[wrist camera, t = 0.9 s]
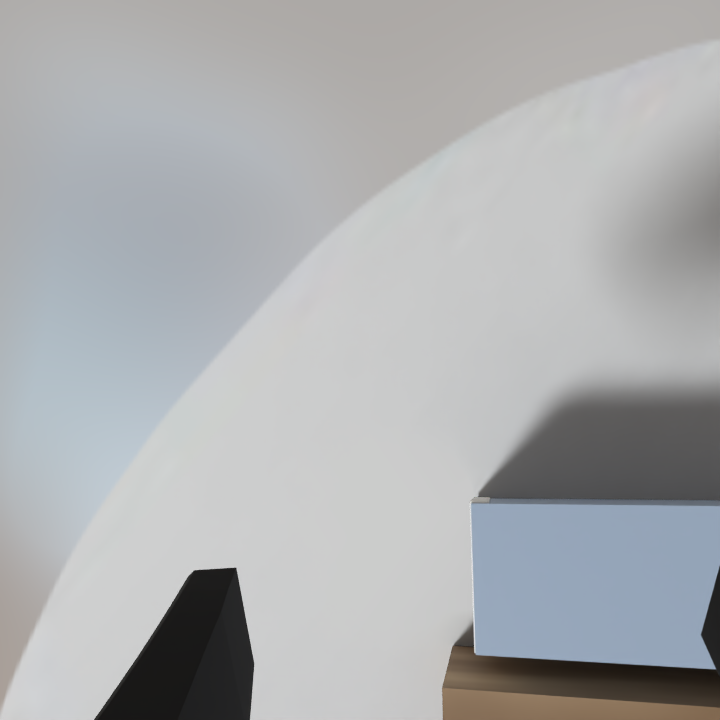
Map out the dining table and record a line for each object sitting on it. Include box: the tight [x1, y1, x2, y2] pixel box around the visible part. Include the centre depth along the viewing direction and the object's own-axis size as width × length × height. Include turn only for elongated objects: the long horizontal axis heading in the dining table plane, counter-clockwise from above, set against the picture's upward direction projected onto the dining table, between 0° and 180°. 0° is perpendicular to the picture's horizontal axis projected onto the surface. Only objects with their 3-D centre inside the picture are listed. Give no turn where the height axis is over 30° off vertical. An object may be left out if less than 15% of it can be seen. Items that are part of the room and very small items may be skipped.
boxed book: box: [470, 497, 720, 669], centre depth 20 cm, size 4×13×6 cm, turn 90°
